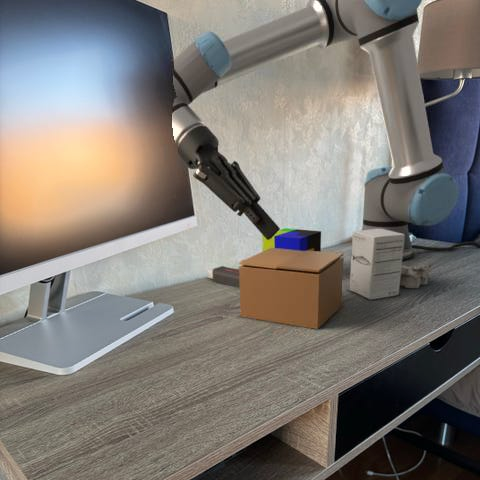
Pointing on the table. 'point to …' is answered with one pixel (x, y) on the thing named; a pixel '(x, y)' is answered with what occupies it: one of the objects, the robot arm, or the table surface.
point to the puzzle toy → (294, 240)
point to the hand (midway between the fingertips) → (273, 234)
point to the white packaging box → (376, 263)
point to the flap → (271, 258)
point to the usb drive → (225, 276)
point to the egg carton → (414, 276)
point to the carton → (294, 289)
